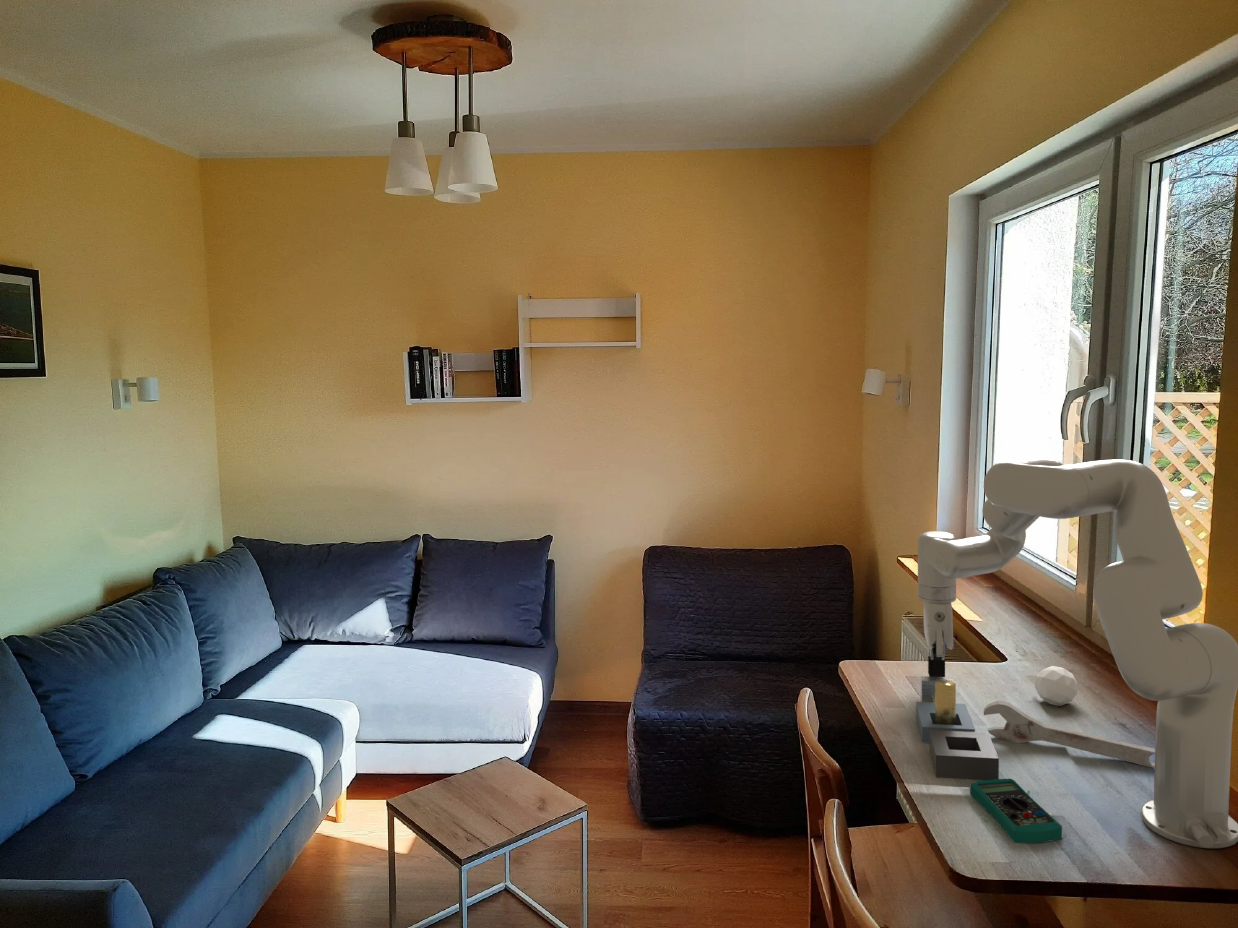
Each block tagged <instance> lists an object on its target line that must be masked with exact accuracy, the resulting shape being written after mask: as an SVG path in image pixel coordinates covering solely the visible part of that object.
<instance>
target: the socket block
mask: <svg viewBox="0 0 1238 928" xmlns="http://www.w3.org/2000/svg"><path fill="white" fill-rule="evenodd" d="M915 717H916V721H917V726H918V731H919V733H920V737H921V742H922V743H927V744H928V743H929V730H942V731H963V732H976V728H975V725H974V723H973V721H972V718H971V716H970V713H969V709H968V707H967V705H966V703H956V725H939V724H936V720H935V703H930V702H921V701H916V702H915Z"/></svg>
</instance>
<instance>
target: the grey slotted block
mask: <svg viewBox="0 0 1238 928" xmlns="http://www.w3.org/2000/svg"><path fill="white" fill-rule="evenodd" d="M929 754H930V758H931V762H932V766H933V770H934V774H935V778H939V779H954V780H955V779H956V780H969V781H970V780H973V781H984V780H994V779H1000V777H999V776H1000V773H999V772H1000V771H999V769H1000V765H999V764H1000V761H999V760H1000V759H999V756H998V753H997V750H996V748H995V746H994V744H993V741H992V739H991V736H990V733H989V732H979V731H975V732H963V731H942V730H929Z"/></svg>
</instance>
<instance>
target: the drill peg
mask: <svg viewBox="0 0 1238 928" xmlns="http://www.w3.org/2000/svg"><path fill="white" fill-rule="evenodd" d="M956 685H957V683H955V682H954V681H953V682H952V681H948V680H939V681H936V682H935V720H936V724H939V725H956V704H957V701H956V699H957V698H956V697H957V696H956V694H957V693H956V691H957V688H956Z"/></svg>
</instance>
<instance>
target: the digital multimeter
mask: <svg viewBox="0 0 1238 928" xmlns="http://www.w3.org/2000/svg"><path fill="white" fill-rule="evenodd" d="M969 792H970V796H972V797H973V799H974V800H975V801H976V802H978V804H979V805H980V806H982V807H983V808H984V809H985V811H986V812H987V813H988V814H989V815H990V816H991V817H992V818H993V819H994V820H995V822H996V823H998V825H999V826H1000V827H1001V829H1002V830H1003V831H1004V832H1005V834H1007V835H1008V837H1009V838H1010V840H1011V841H1012V842H1013V843H1018V844H1019V843H1020V844H1035V843H1037V844H1039V843H1048V842H1051V841H1056V840H1059V839H1062V838H1063V837H1062V836H1063V826H1062V825H1061V823H1059V822H1058V821H1057V820H1056V819H1055V818H1054V817H1052V816H1051V815H1050V814H1049V813H1048V812H1047V811H1046V810H1045V809H1044V808H1043V807H1042V806H1040V804H1038V803H1037V802H1036V801H1035V800H1034V799H1033V798H1032V797H1031V796H1030V794H1028V793H1027V792H1026V791H1025V790H1024V789H1023V788H1022V787H1021V786H1020V785H1019V784H1018V783H1017V781H1016V780H1015V779H1013V778H999V779H994V780H975V781H974V782H971V783H970V791H969Z"/></svg>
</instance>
